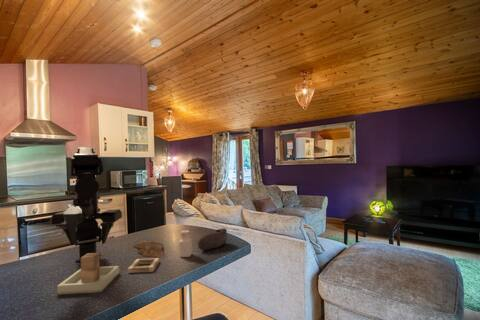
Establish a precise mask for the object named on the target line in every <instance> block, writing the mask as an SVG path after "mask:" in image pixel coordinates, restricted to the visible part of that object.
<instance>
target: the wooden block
mask: <svg viewBox="0 0 480 320" xmlns="http://www.w3.org/2000/svg"><path fill="white" fill-rule="evenodd" d="M99 253H100V252H97V253H87V254H86V255H84V256H83V257H81V261H80V269H81V283H89V282H96V281H97V280H98V279H99V278H100V269H99V267H100V256H99Z"/></svg>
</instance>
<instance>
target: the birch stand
mask: <svg viewBox="0 0 480 320" xmlns="http://www.w3.org/2000/svg"><path fill="white" fill-rule="evenodd" d="M159 263H160V258H158V257H145V258H136V259H135V260H134V262H132V264H130V266H128V268H127V273H128V274H132V273H133V274H134V273H136V274H138V273H153V272H154V270H155V269H156V268H157V266H158V265H159ZM142 265H143V266H142Z"/></svg>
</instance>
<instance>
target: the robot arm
mask: <svg viewBox="0 0 480 320" xmlns="http://www.w3.org/2000/svg"><path fill="white" fill-rule="evenodd" d="M70 159H71V160H70V162H71V163H70V166H71V167H70V169H71V170H70V172H71V173H70V176H71V177H76V179H75V185H74V191H75V198H73V201H72V205H70V207H68V208H67V209H66V210H65V211H60V212H57V213H54V214H52V215H51V217H50V224H51V225H55V227H58V228H60V229H61V230H63V231H64V233H65V235H66V237H67V240H68V241H69V243H70V245H71V246H75V247H78V252H79V253H78V254H79V256H78V258H77V259H75V263H76V262H81V257H83V256H84V255H86V254H87V253H99V257H100V256H101V255H102V253H100V252H98V249H97V247H98V246H97V244H98V243H102V244H104V245H105V243H106V241H107V239H108V237H109V234H110V232H111V229H112V227H113V225H114V224H115V223H116V222H118V221H119V220H120V219H122V218H123V213H122V211H121V209H118V208H117V209H107V210H104V211H102V212H101V208H100V207H99V200H100V199H101V196H100V195H98V193H99V192H98V191H99V189H100V184H99V182H98V178H97V177H96V176H101V175H102V173H104V165H103V159H102V158H101V156H99V155H98V153H96V152H95V151H94V147H92V146H79V147H77V151H76V152H75V153H74V154H72V157H71V158H70ZM97 220H101V221H102V222H101V223H99V222H98V221H97Z"/></svg>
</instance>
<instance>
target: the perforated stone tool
mask: <svg viewBox="0 0 480 320" xmlns="http://www.w3.org/2000/svg"><path fill="white" fill-rule="evenodd" d="M227 239H228V235H227V229H226V228H225V227H224V228H218V229H216V230H213V231H210V232H208V233H206V234H204V235H202V237H201V238H200V239H199V240H198V243H197V246H198V249H199V250H201V251H208V250H213V248H214V249H216V248H220V247H221V246H224V245H226V242H227Z"/></svg>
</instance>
